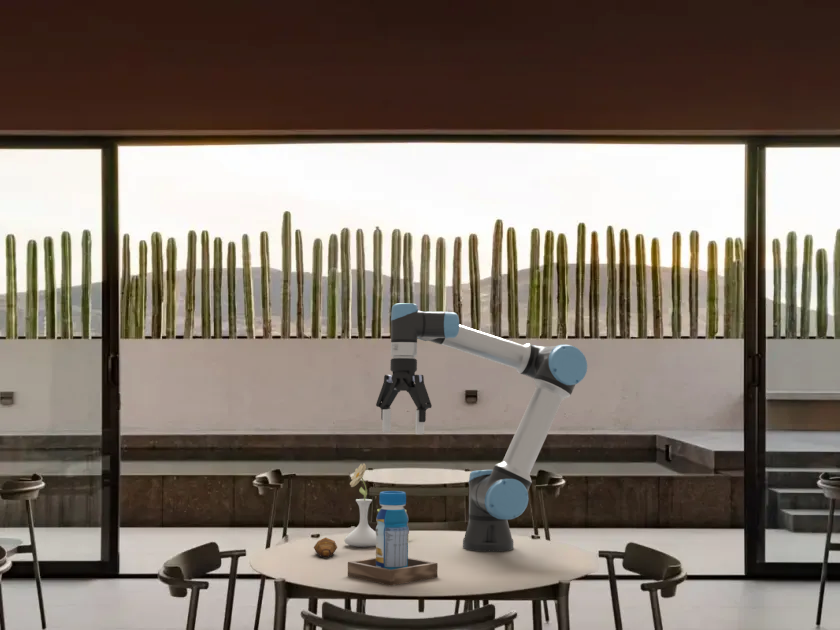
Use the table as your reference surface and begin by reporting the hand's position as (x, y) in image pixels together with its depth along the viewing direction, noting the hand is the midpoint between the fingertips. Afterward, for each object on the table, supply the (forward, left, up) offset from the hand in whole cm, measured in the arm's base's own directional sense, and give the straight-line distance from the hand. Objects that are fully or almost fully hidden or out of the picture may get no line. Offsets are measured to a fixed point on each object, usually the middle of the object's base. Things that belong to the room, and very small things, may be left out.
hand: (402, 433), depth 273 cm
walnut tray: (+20, +18, -35) cm, 44 cm away
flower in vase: (-5, -22, -35) cm, 42 cm away
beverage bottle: (+20, +18, -34) cm, 43 cm away
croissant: (+12, -18, -35) cm, 41 cm away
